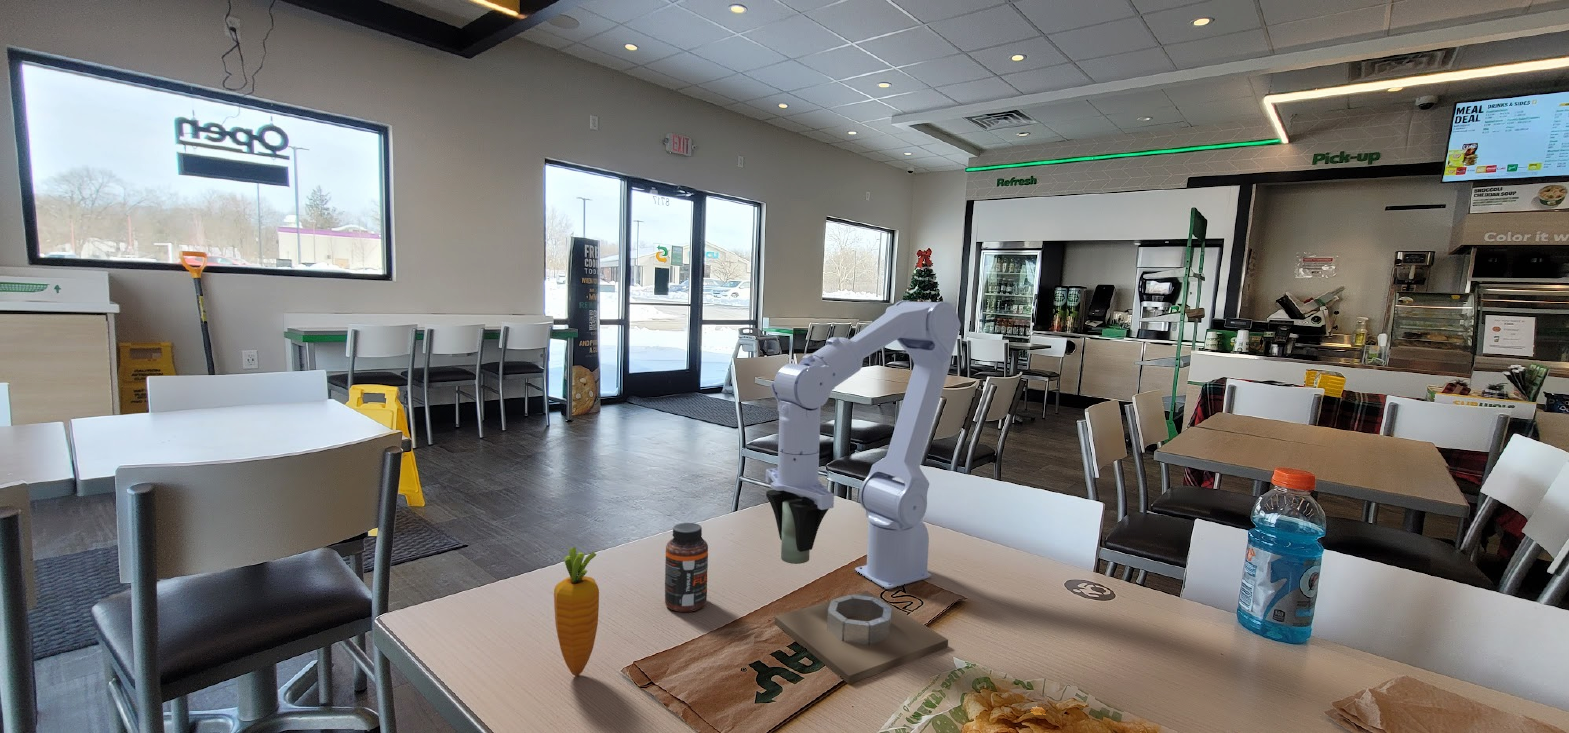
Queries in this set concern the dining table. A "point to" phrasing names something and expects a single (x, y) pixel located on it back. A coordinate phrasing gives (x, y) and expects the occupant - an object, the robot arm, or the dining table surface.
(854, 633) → the collar ring
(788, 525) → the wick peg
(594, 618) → the carrot
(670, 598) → the supplement bottle
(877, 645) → the collar board
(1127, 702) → the dining table surface
